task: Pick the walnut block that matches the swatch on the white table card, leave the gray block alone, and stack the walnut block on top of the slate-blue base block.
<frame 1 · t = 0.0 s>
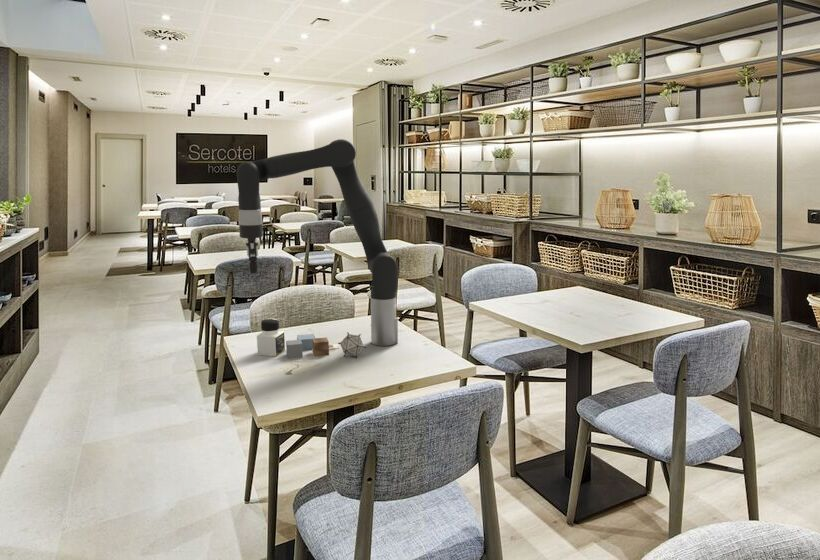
hand: (253, 271, 191), 29 cm above the table, fingers open, 8 cm apart
base block: (306, 347, 204), on the table
gray block: (294, 356, 195), on the table
walnut block: (320, 353, 197), on the table
grey icosahedron: (352, 356, 194), on the table
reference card: (329, 347, 204), on the table
medicine bottle: (271, 353, 198), on the table
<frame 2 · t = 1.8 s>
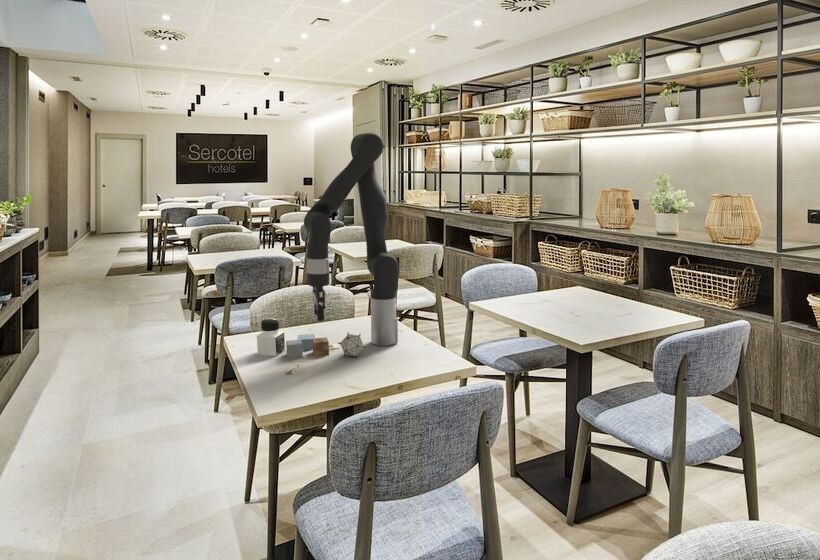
hand: (319, 317, 194), 13 cm above the table, fingers open, 8 cm apart
nothing on the table moved.
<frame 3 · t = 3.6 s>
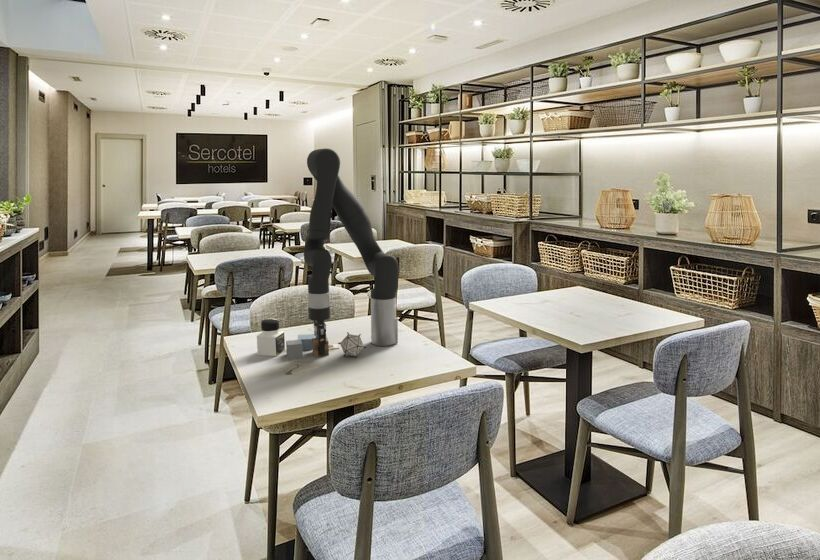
hand: (320, 352, 197), 0 cm above the table, fingers closed on walnut block, 5 cm apart
walnut block: (320, 353, 197), on the table, touching gripper
everything else where it was.
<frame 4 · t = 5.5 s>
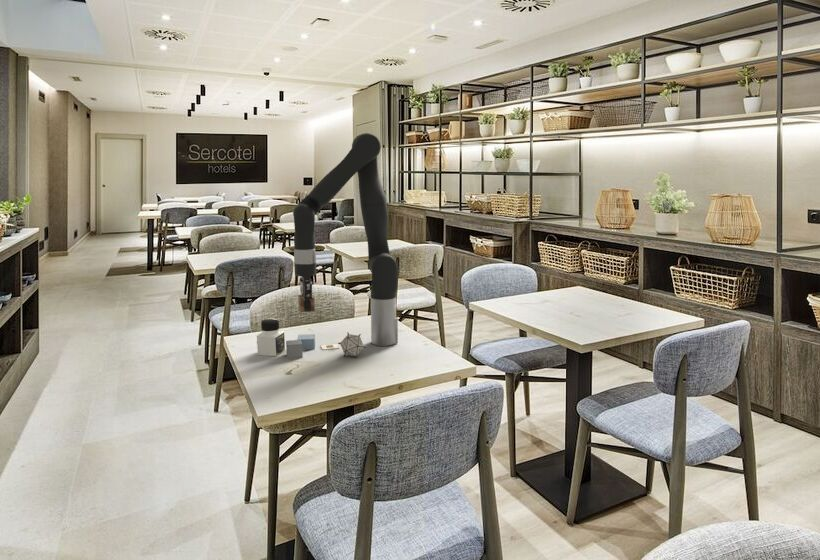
hand: (306, 308, 200), 15 cm above the table, fingers closed on walnut block, 5 cm apart
walnut block: (306, 310, 200), point 14 cm above the table, touching gripper
everything else where it was.
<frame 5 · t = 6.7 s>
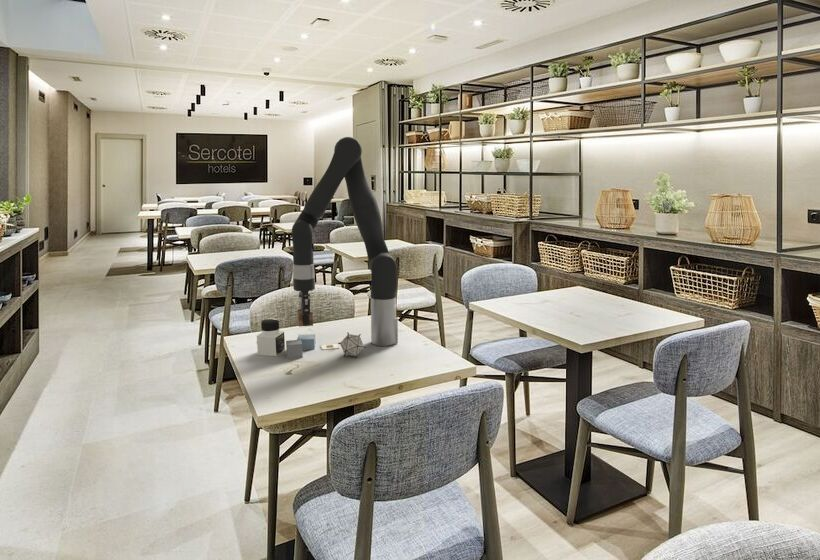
hand: (305, 322, 203), 9 cm above the table, fingers closed on walnut block, 5 cm apart
walnut block: (305, 324, 203), point 8 cm above the table, touching gripper
everything else where it was.
when the fingers open (6 cm above the table, at t = 7.7 s): walnut block drops 2 cm, resting on base block.
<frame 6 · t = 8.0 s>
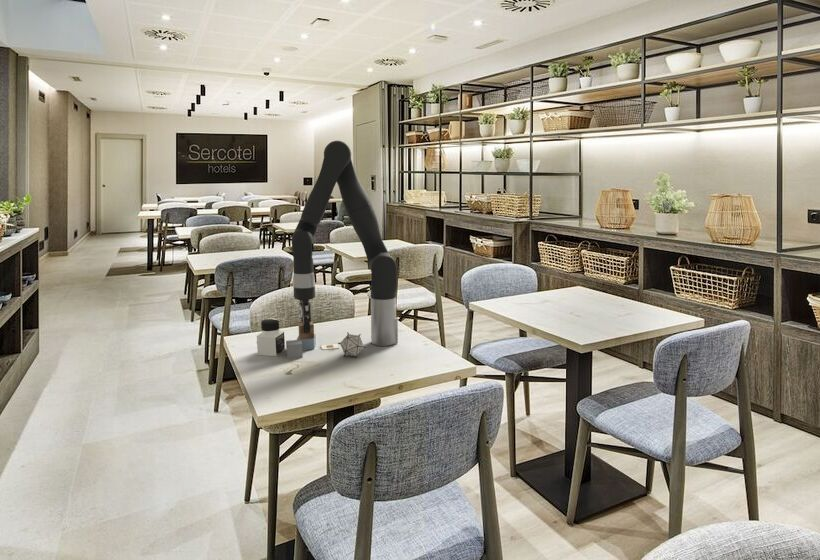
hand: (305, 329, 203), 6 cm above the table, fingers open, 7 cm apart
base block: (306, 347, 204), on the table, touching walnut block
walnut block: (306, 336, 204), point 4 cm above the table, touching base block
everything else where it was.
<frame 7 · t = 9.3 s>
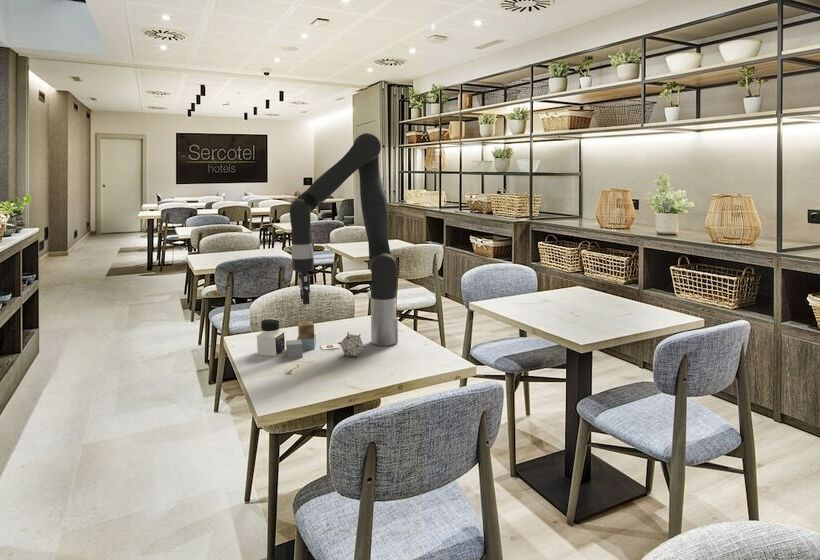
hand: (305, 301, 201), 17 cm above the table, fingers open, 8 cm apart
nothing on the table moved.
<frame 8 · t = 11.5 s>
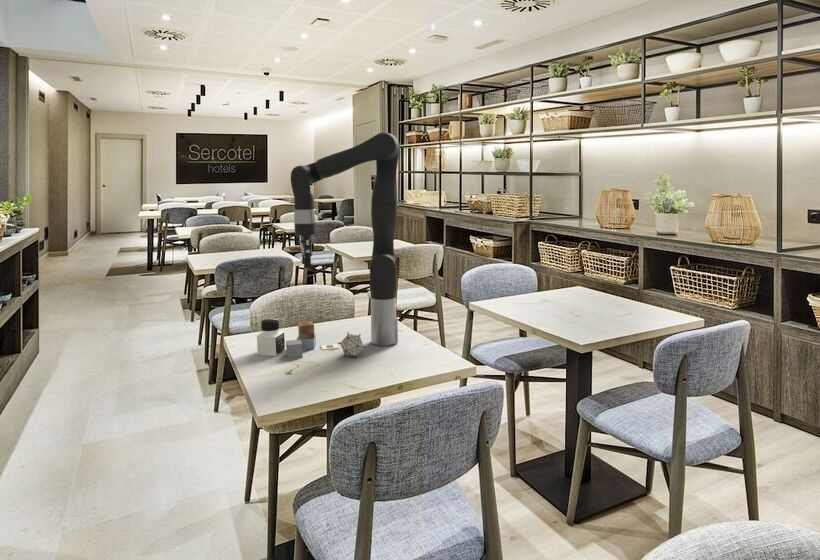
hand: (306, 265, 208), 28 cm above the table, fingers open, 8 cm apart
nothing on the table moved.
at the end: walnut block 0.1 cm off-centre on the base block, point 4.0 cm above the base block's base; walnut block tilted 0°; gray block moved 0.1 cm from its start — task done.
